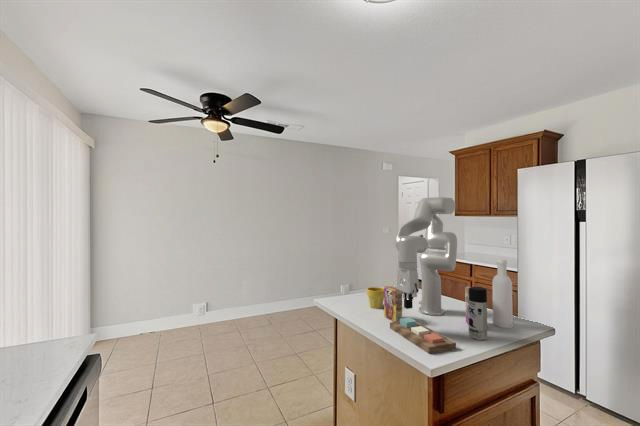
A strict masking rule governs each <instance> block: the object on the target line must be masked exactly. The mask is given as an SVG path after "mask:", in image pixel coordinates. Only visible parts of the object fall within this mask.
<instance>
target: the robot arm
mask: <svg viewBox="0 0 640 426" xmlns="http://www.w3.org/2000/svg"><path fill="white" fill-rule="evenodd" d="M455 210H456V202H455V200H454V199H453V198H452V197H446V196H444V197H443V196H440V197H439V196H438V197H436V196H435V197H424V198H422V199H420V200H419V201H418V204H417V207H416V209H415V213H414V216H413V218H412V219H410V220H408V221H407V222H406V223H404V224H403V225H402V226H401V227H400V228H399V229H398V231H397V235H396V238H395V241H394V245H395V246H394V247H395V248H396V250H397V251H398V266H399V267H398V269H397V276H396V287H397V289H398V290H400V292H402V299H403V308H404V309H406V310H408V309H409V310H411V309H413V300H414V298H417V297H418V293H419V291H420V282H419V272H418V254H420V255H419V264H420V273H421V300H419V301H418V304H419V305H420V307H419V306H418V312H420V313H421V314H424V315H427V316H442V315H445V313H446V312H445V309H443V308H442V278H441V275H440V274H439V272H438V271H444V272H452V271H454V270H455V269H456V265H457V254H458V238H457V234H455V233H454V232H452V231H451V232H450V231H444V230H443V229H444V223H443V221H442V219H441V218H440V217H439V216H438V215H451V214H453V213H454V212H455ZM423 230H425V236H417V235H416V236H415V235H412V234H414V233H416V232H421V231H423ZM427 249H429V250H427ZM435 250H437V251H435ZM438 250H439V251H438ZM440 250H441V251H440Z"/></svg>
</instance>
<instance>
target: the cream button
mask: <svg viewBox="0 0 640 426" xmlns="http://www.w3.org/2000/svg"><path fill="white" fill-rule="evenodd" d="M411 331H412V332H413V333H415V334H417V335H418V336H419V335H426V334H429V330H427V329H426V328H424V327H422V326H419V327H411Z"/></svg>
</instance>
